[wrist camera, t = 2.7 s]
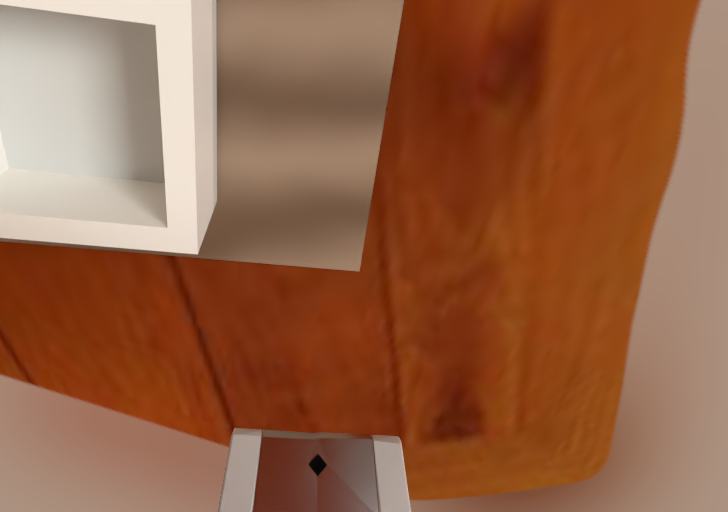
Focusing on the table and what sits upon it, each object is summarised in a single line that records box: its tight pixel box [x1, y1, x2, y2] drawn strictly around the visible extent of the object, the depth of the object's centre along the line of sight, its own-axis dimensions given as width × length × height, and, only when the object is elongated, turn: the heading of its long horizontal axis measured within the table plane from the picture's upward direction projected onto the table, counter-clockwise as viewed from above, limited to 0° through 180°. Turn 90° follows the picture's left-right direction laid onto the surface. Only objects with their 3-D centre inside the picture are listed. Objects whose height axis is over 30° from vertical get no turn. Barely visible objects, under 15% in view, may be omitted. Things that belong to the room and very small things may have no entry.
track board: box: [0, 0, 404, 271], centre depth 23 cm, size 18×32×8 cm, turn 82°
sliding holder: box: [0, 0, 217, 254], centre depth 22 cm, size 10×10×5 cm
